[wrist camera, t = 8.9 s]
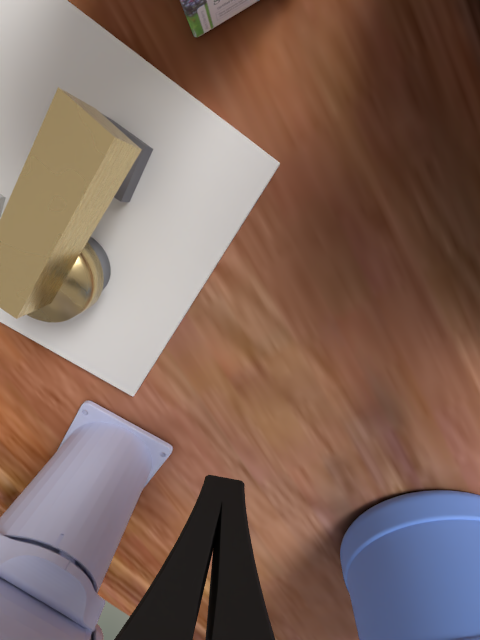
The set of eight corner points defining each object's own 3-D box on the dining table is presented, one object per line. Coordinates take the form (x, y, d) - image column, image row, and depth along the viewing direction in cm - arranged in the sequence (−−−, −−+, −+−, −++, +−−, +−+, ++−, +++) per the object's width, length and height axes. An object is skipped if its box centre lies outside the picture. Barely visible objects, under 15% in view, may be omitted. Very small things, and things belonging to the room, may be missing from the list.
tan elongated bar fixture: (2, 274, 16) (-71, 293, 12) (88, 95, 12) (19, 52, 9) (78, 328, 17) (30, 360, 13) (179, 177, 13) (148, 167, 10)
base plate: (137, 390, 21) (123, 410, 19) (-100, 255, 19) (-146, 261, 17) (279, 165, 15) (281, 158, 13) (-54, -89, 12) (-121, -151, 10)
